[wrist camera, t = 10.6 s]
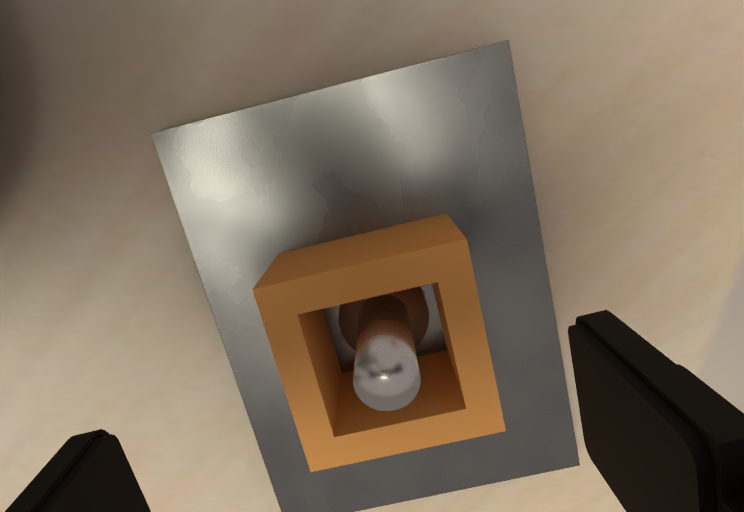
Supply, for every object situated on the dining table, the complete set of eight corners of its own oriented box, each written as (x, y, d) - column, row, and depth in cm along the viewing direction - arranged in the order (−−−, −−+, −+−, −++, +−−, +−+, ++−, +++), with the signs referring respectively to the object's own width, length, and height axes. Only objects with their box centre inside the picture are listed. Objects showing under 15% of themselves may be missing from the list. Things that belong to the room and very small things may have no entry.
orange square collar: (278, 253, 18) (252, 289, 14) (445, 213, 17) (466, 238, 14) (323, 402, 19) (311, 472, 15) (478, 368, 19) (506, 430, 15)
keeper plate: (160, 133, 18) (60, 137, 12) (502, 44, 17) (566, 3, 11) (289, 511, 21) (259, 647, 16) (572, 452, 21) (645, 574, 15)
